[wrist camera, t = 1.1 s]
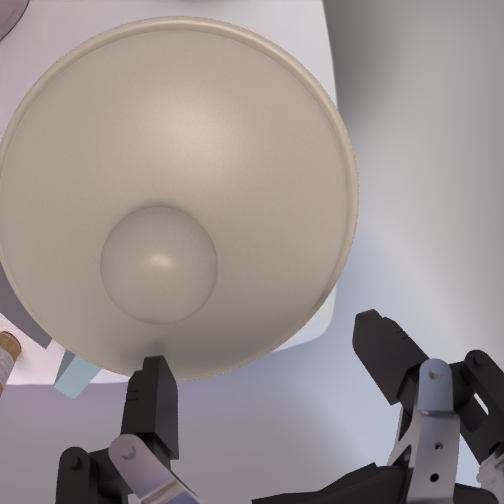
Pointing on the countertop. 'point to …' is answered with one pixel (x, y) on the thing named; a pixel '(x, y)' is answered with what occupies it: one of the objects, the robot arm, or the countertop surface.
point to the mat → (19, 313)
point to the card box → (74, 374)
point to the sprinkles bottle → (7, 357)
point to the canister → (176, 197)
